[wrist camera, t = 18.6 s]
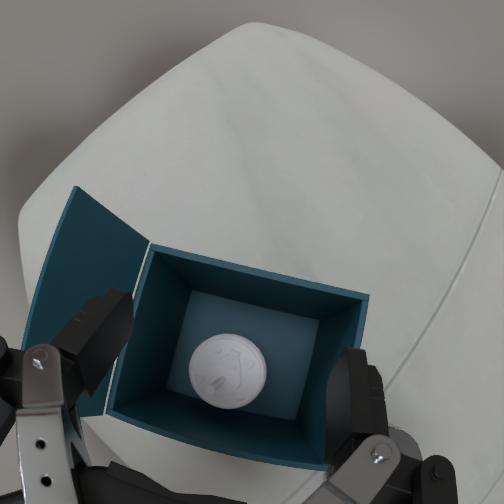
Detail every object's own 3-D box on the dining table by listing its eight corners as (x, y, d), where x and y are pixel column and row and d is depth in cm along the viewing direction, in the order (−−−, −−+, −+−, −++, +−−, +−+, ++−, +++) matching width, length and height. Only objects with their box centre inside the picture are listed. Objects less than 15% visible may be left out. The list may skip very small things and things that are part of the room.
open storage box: (162, 390, 34) (105, 413, 19) (190, 285, 37) (150, 242, 23) (297, 424, 33) (327, 471, 18) (323, 317, 36) (369, 294, 21)
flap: (102, 415, 18) (99, 413, 18) (149, 241, 22) (146, 240, 22) (13, 419, 11) (10, 416, 11) (77, 185, 15) (73, 185, 15)
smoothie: (206, 372, 34) (156, 400, 20) (227, 321, 35) (188, 320, 21) (258, 395, 33) (238, 439, 19) (281, 343, 34) (276, 359, 20)
